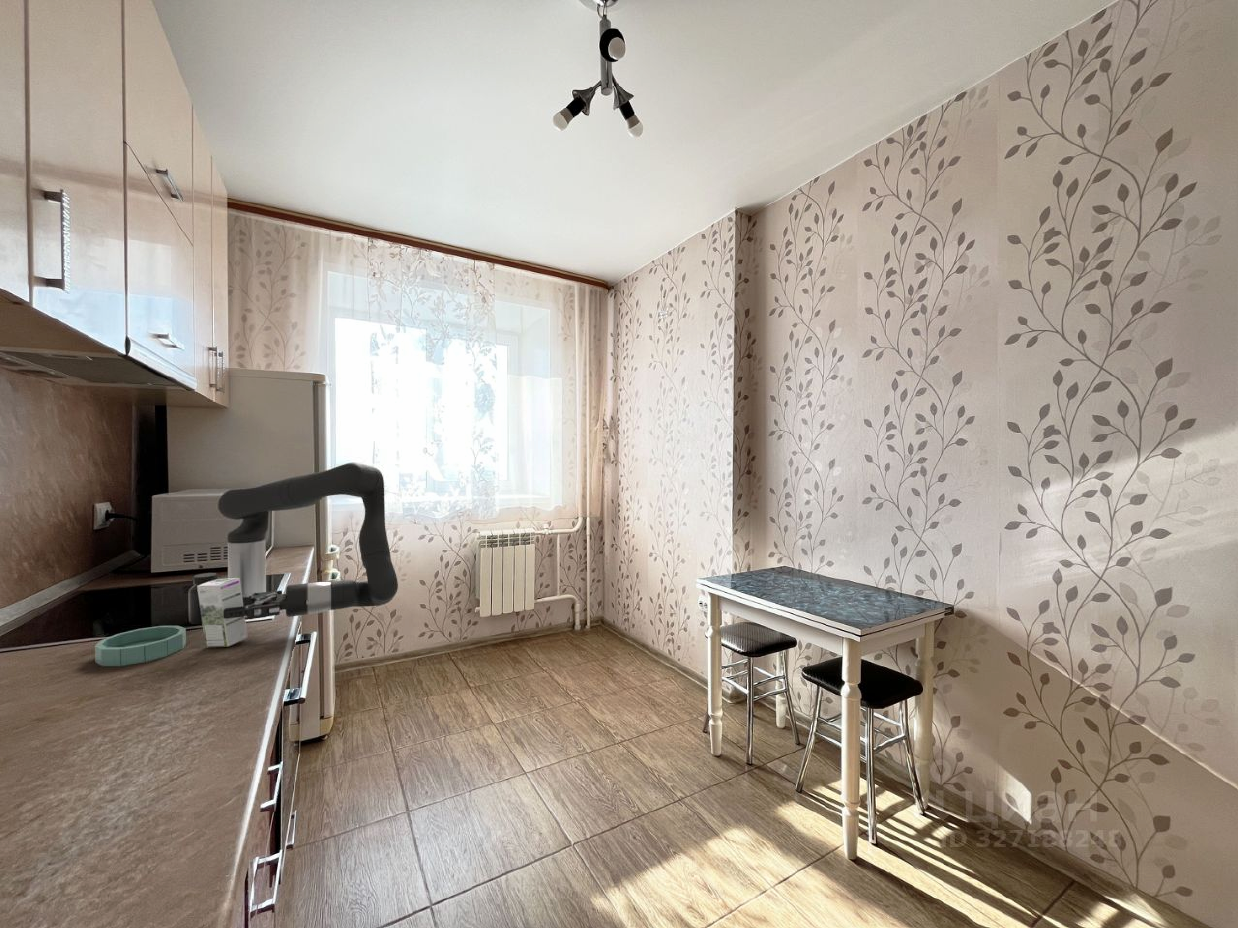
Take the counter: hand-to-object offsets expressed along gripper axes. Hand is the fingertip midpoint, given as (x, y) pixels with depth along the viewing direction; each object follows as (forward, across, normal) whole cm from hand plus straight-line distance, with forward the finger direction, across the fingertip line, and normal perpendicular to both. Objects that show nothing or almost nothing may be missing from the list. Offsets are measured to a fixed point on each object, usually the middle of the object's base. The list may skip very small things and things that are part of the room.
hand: (226, 608), depth 115 cm
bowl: (+15, -3, +8) cm, 17 cm away
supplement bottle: (+7, -23, +8) cm, 26 cm away
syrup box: (0, 0, +8) cm, 8 cm away
